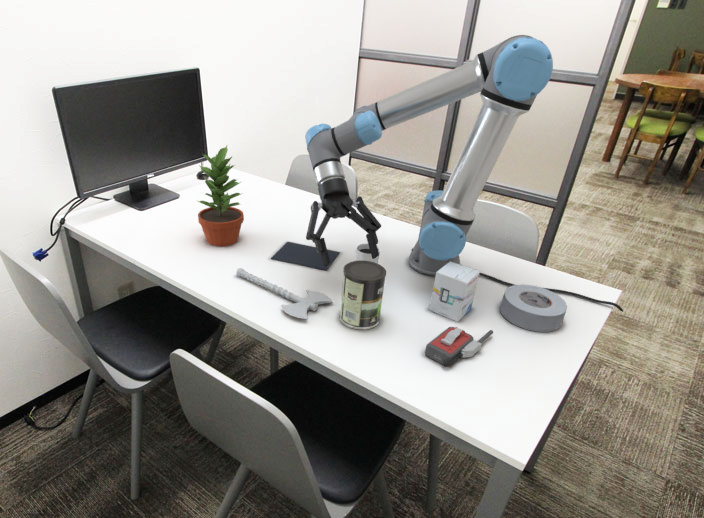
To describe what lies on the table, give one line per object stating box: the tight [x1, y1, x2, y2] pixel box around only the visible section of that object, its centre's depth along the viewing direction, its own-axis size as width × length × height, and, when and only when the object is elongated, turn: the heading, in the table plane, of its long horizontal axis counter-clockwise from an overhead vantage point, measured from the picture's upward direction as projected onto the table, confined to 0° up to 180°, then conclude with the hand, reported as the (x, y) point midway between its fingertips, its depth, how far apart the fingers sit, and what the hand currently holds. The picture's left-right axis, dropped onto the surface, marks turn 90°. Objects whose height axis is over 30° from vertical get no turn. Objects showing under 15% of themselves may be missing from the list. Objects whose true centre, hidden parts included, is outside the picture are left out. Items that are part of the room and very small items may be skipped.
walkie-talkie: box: [424, 326, 494, 367], centre depth 117 cm, size 9×4×20 cm
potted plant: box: [197, 145, 245, 247], centre depth 155 cm, size 15×15×30 cm
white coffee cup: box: [355, 243, 381, 264], centre depth 141 cm, size 7×7×10 cm
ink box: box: [428, 261, 481, 323], centre depth 129 cm, size 9×8×12 cm
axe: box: [235, 267, 334, 320], centre depth 135 cm, size 30×14×2 cm, turn 50°
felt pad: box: [270, 241, 341, 272], centre depth 155 cm, size 18×13×1 cm
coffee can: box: [339, 260, 387, 331], centre depth 123 cm, size 10×10×14 cm
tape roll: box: [499, 284, 568, 333], centre depth 129 cm, size 15×15×5 cm
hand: (351, 260), depth 125 cm, fingers open, 13 cm apart
